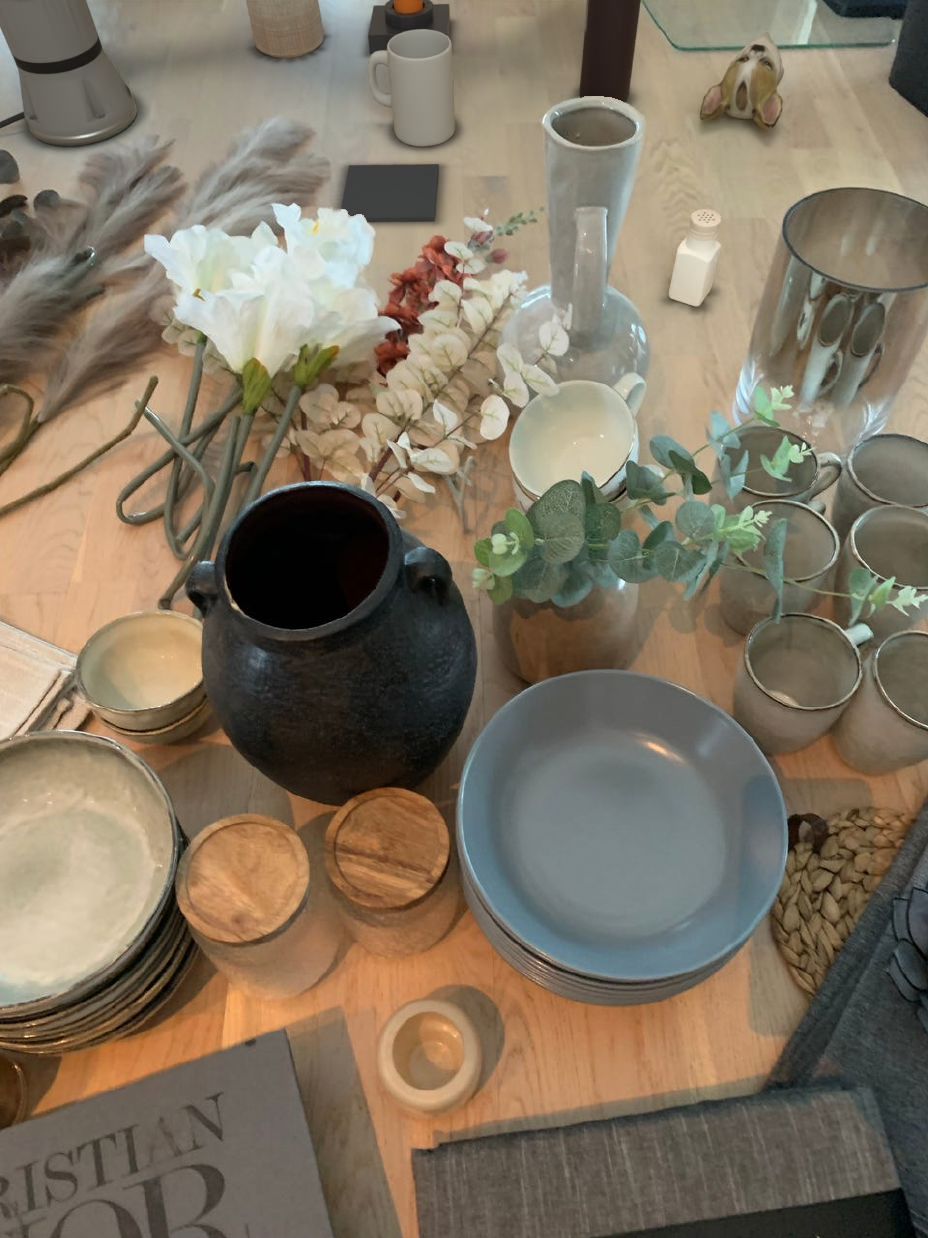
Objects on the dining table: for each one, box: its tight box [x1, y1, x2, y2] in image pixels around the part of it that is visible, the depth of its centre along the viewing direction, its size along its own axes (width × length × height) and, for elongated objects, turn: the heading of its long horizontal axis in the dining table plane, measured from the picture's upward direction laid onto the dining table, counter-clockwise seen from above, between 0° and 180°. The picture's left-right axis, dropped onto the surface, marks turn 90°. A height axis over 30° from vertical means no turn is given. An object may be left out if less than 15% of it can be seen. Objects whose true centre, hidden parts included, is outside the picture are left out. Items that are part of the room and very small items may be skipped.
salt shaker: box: [668, 208, 722, 307], centre depth 95 cm, size 4×4×10 cm
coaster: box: [340, 163, 440, 222], centre depth 111 cm, size 12×12×1 cm
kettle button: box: [394, 0, 423, 13], centre depth 131 cm, size 4×4×2 cm
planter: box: [245, 0, 325, 59], centre depth 131 cm, size 11×11×10 cm
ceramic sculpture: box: [699, 31, 785, 131], centre depth 117 cm, size 11×9×15 cm
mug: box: [367, 29, 456, 148], centre depth 116 cm, size 12×8×11 cm
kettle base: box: [367, 0, 451, 55], centre depth 133 cm, size 12×10×4 cm
